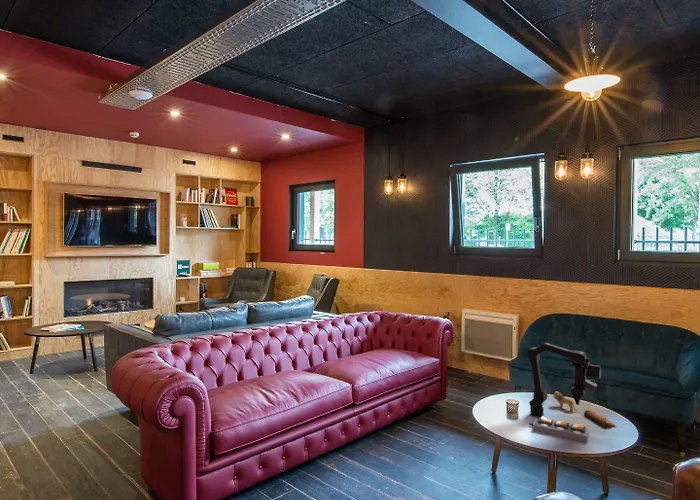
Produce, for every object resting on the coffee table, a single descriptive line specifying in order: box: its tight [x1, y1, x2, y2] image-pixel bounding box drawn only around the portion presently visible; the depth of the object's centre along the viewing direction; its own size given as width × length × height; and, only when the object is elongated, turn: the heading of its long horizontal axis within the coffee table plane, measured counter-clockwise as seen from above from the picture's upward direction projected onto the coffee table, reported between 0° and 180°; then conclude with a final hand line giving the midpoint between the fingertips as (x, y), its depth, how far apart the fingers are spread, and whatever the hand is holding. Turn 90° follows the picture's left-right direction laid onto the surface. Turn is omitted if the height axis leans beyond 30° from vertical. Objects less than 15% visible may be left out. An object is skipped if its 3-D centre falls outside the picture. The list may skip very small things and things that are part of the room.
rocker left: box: [539, 415, 553, 423], centre depth 247 cm, size 5×4×1 cm
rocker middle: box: [556, 420, 568, 426], centre depth 243 cm, size 5×4×1 cm
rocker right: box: [572, 423, 585, 429], centre depth 238 cm, size 5×4×1 cm
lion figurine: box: [553, 391, 578, 413], centre depth 274 cm, size 15×5×9 cm, turn 37°
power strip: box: [529, 417, 590, 443], centre depth 242 cm, size 29×10×4 cm, turn 56°
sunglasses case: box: [583, 409, 617, 429], centre depth 256 cm, size 18×7×7 cm
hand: (578, 402), depth 250 cm, fingers open, 9 cm apart
